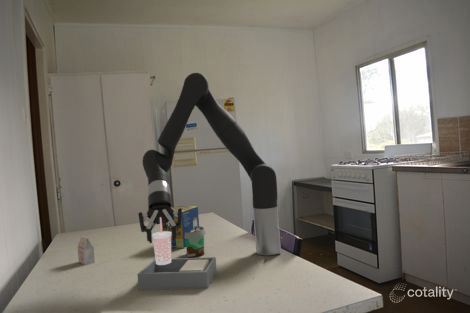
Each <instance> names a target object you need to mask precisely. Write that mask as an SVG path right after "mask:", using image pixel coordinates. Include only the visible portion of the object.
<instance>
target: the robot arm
mask: <svg viewBox="0 0 470 313" xmlns="http://www.w3.org/2000/svg"><path fill="white" fill-rule="evenodd" d="M195 107H196V108H197V109H198V110H199V111H200V112H201V113H202V115H203V116H204V118H205V120H206V121H207V123H208V125H209V126H210V128H211V129H212V131H213V133H215V136H217V138H218V139H219V140H220V142H221V143H222V145H224V147H225V148H226V150H228V152H229V153H230V154H231V155H232V156H234V158H235V159H236V160H237V161H238V162H239V163H240V164H241V166H242V167H243V169H244V170H245V173H246V174H247V175H248V178H249V179H250V181H251V191H252V192H251V193H252V212H253V227H254V240H255V254H258V255H260V256H274V255H279V254H282V252H281V250H282V249H281V235H280V234H281V233H280V223H279V213H278V185H277V184H278V183H277V174H276V172H275V169H273V168H272V167H271V166H270V165H268V164H267V163H266V162H265V161H264V160H263V159H262V158H261V157H260V156H259V155H258V154H257V152H256V151H255V148H254V147H253V145H252V143H251V141H250V140H249V138H248V135H246V133H245V131H244V129H243V128H242V127H241V126H240V124H239V123H238V122H237V120H236V118H234V117H233V116H232V115H231V113H229V112H228V111H227V110H226V109H225V108H224V107H222V106H221V105H220V104H219V102H218V101H217V99H216V98H215V96H214V95H213V93H212V92H211V90H210V88H209V81H208V79H207V77H206V76H205V75H204V74H202V73H200V72H193V73H190V74H189V75H187V76H186V77H185V79H184V82H183V85H182V88H181V91H180V94H179V98H178V100H177V102H176V105H175V107H174V109H173V111H172V113H171V115H170V117H169V118H168V120H167V122H166V124H165V126H164V127H163V129H162V131H161V133H160V135H159V137H158V139H157V143H158V145H159V146H161V148H163V153H162V152H160V151H158V150H155V149H148V150H147V151H146V152H144V154H143V156H142V168H143V170H144V172H145V174H146V177H147V182H148V184H147V186H148V188H147V211H146V212H142V211H140V212H138V214H137V215H138V220H139V226H140V231H141V233H146V241H147V242H149V244H152V243H153V238H152V234H153V233H152V231H153V229H154V228H155V226H156V225H160V217H161V220H162V224H165V223H167V224H168V225H169V226H170V227H171V232H172V241H174V240H175V238H176V237H177V234H176V229H177V228H181V223H182V209H178V210H173V209H172V208H173V207H172V206H173V205H172V195H171V194H172V193H171V188H170V181H169V176H168V175H169V174H168V172H169V171H170V169H171V168H172V165H173V160H174V155H175V152H176V148H177V146H178V144H179V142H180V140H181V138H182V136H183V134H184V131H185V129H186V126H187V125H188V121H189V119H190V117H191V115H192V112H193V111H194V109H195ZM173 214H175V216H176V217H178V222H177V223H175V222H174V221H173V219H172V218H171V217H172V216H173ZM147 218H148V219H149V221H148V224H147V225H145V222H144V221H145V220H146V219H147Z"/></svg>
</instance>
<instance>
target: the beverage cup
mask: <svg viewBox="0 0 470 313" xmlns="http://www.w3.org/2000/svg"><path fill="white" fill-rule="evenodd" d="M159 225H160V226H159V227H160V231H157V232H154V233H152V243H153V249H154V250H153V251H154V259H156V264H157V265H166V264H169V263H171V259H172V248H171V236H172V232H169V231H163V232H162V220H161V217H160V224H159Z"/></svg>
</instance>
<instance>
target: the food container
mask: <svg viewBox="0 0 470 313" xmlns="http://www.w3.org/2000/svg"><path fill="white" fill-rule="evenodd" d="M206 233H207V232H206V229H205V227H203V226H201V225H199V226H194V229H193V230H190V231H189V233H185V240H186V247H185V248H186V256H187V257H186V258H201V257H202V256H204V255H205V236H206Z"/></svg>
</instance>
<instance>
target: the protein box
mask: <svg viewBox="0 0 470 313" xmlns="http://www.w3.org/2000/svg"><path fill="white" fill-rule="evenodd" d="M172 209H173V210H178V209H182V223H181V228H177V229H176V234H177V237H176V238H175V240H174V241H172V236H171V249H185V248H186V240H185V233H189V231H190V230H193V229H194V226H200V222H199V221H200V219H199V206H197V205H196V206H193V205H191V206H190V205H189V206H188V205H185V206H184V205H180V206H175V207H172ZM171 218H172V219H173V221H174V222H175V223H177V222H178V217H176V216H175V214H173V216H172V217H171ZM163 231H169V232H171V227H170V226H169V225H168V224H167V223H165V224H162V232H163Z"/></svg>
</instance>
